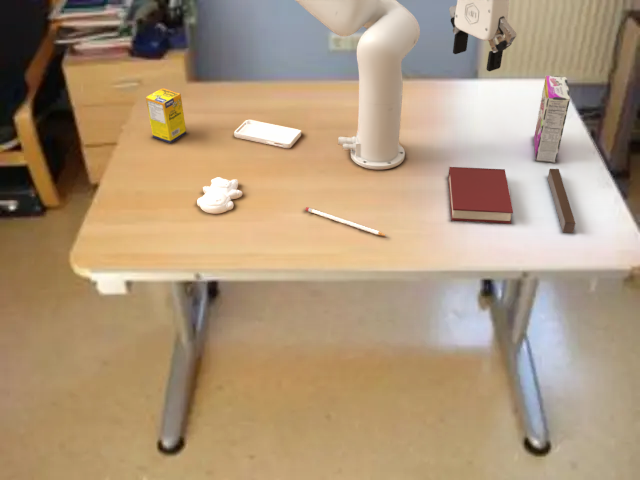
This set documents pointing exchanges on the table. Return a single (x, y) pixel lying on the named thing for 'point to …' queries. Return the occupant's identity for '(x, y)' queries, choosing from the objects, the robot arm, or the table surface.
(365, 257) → the table surface
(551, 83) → the candy bar box
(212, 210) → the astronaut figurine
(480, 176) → the book
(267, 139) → the phone case
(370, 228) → the pencil
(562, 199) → the rail
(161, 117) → the supplement box
